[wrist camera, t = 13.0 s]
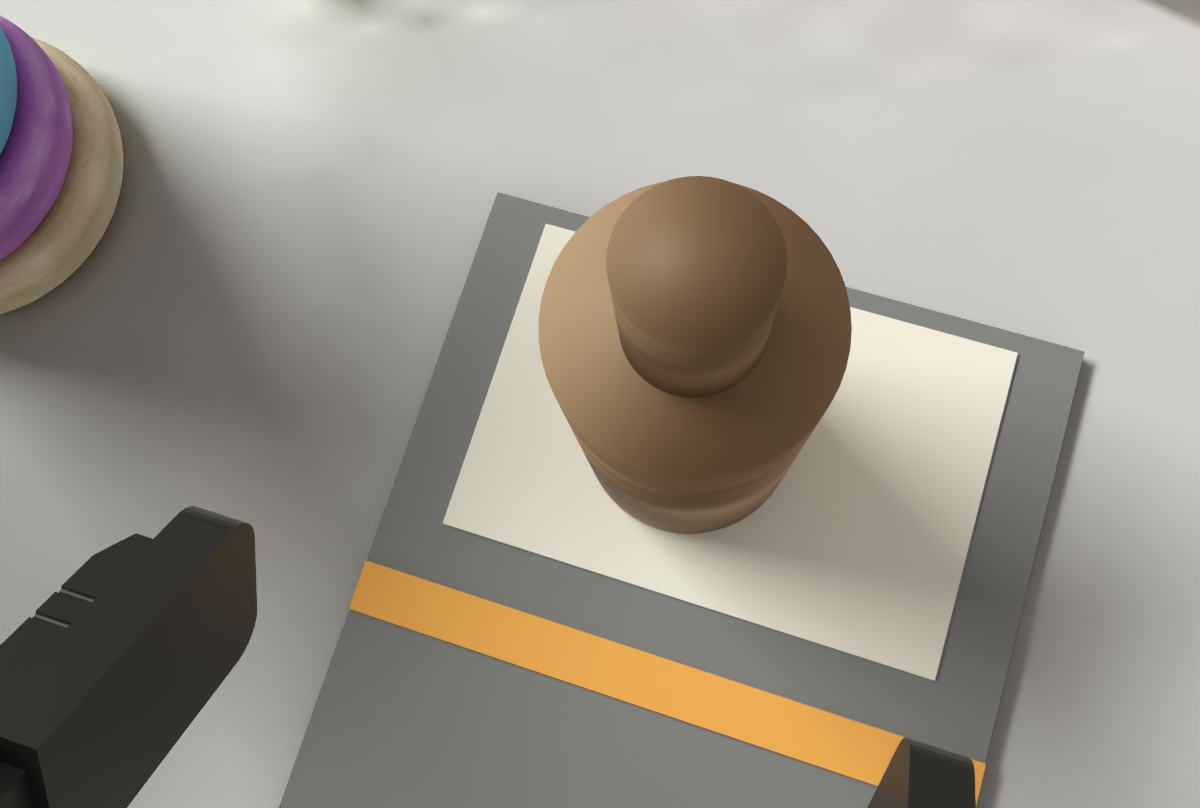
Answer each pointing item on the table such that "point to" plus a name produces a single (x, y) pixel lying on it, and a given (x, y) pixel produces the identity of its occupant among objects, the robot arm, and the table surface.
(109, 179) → the stacking toy
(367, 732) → the lane mat
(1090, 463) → the table surface
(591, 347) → the walnut skittle
